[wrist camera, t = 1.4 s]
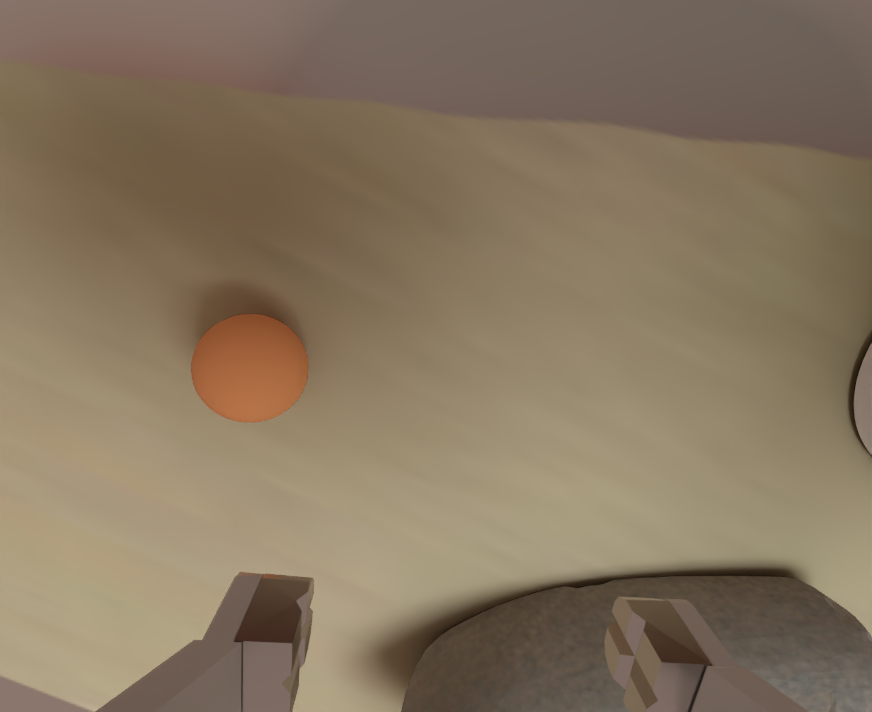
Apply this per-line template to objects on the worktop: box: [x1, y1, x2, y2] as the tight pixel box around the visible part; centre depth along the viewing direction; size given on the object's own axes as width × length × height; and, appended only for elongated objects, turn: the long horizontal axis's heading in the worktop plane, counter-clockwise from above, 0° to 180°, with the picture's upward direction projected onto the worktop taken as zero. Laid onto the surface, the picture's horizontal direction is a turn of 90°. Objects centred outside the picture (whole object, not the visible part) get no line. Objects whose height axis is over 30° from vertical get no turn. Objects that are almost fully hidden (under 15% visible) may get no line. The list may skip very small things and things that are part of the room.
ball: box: [191, 314, 308, 422], centre depth 23 cm, size 6×6×6 cm
